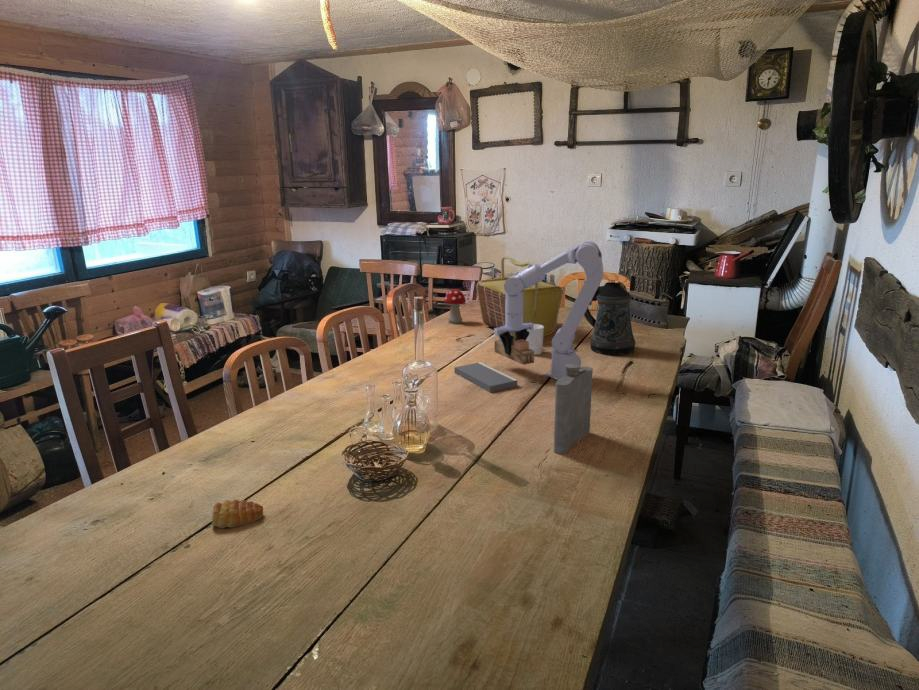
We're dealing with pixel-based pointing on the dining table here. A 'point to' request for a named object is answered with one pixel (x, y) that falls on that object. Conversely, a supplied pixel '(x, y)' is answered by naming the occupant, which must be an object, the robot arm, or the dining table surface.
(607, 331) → the beer stein
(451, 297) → the decorative mushroom
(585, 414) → the hip flask
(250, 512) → the pastry
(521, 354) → the brown notched bar
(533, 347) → the white cup
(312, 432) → the dining table surface
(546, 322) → the picnic basket
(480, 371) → the dock
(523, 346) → the pink square block
